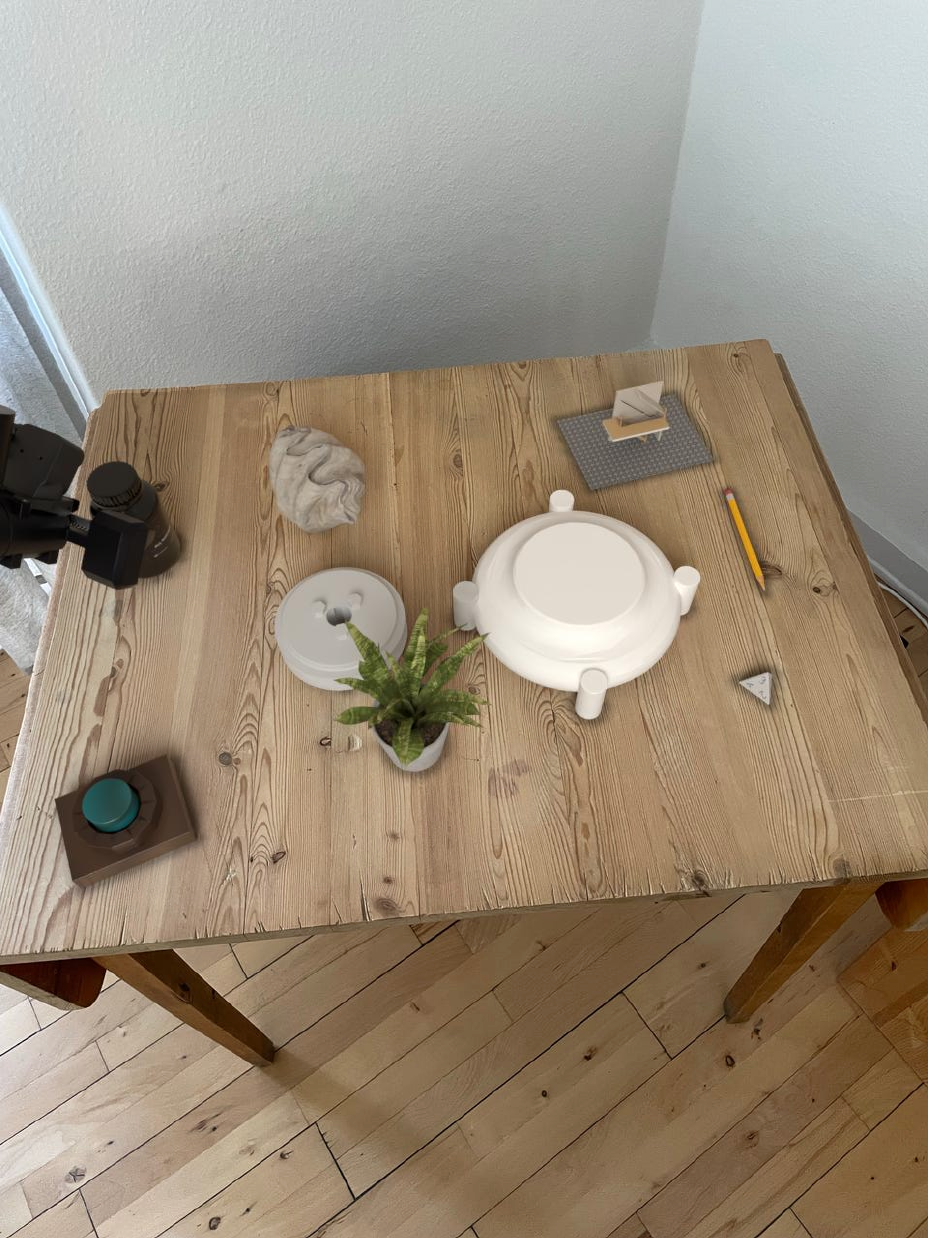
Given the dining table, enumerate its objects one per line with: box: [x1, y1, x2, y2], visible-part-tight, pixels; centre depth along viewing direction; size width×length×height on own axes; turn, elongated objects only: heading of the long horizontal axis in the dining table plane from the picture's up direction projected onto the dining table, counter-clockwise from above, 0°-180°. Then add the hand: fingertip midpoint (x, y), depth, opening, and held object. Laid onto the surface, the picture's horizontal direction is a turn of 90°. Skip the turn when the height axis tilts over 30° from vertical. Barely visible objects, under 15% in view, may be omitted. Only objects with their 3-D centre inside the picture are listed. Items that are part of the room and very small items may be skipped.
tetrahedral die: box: [738, 671, 773, 705], centre depth 83 cm, size 4×3×3 cm
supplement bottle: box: [85, 460, 182, 580], centre depth 88 cm, size 7×7×12 cm
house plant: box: [332, 604, 492, 773], centre depth 73 cm, size 14×14×16 cm
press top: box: [83, 778, 139, 832], centre depth 73 cm, size 4×4×2 cm
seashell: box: [268, 424, 367, 534], centre depth 92 cm, size 10×15×10 cm
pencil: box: [724, 489, 766, 592], centre depth 93 cm, size 1×13×1 cm, turn 7°
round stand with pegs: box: [452, 489, 701, 720], centre depth 85 cm, size 24×24×7 cm
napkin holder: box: [602, 380, 670, 444], centre depth 98 cm, size 3×7×7 cm, turn 106°
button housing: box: [54, 753, 197, 890], centre depth 75 cm, size 10×8×4 cm
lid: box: [273, 566, 408, 692], centre depth 85 cm, size 13×13×5 cm
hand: (115, 519), depth 86 cm, fingers open, 9 cm apart
